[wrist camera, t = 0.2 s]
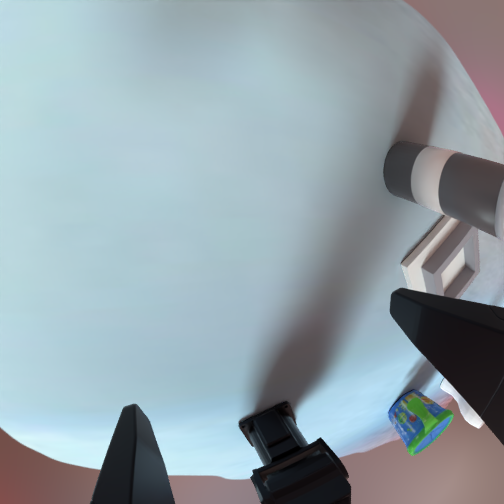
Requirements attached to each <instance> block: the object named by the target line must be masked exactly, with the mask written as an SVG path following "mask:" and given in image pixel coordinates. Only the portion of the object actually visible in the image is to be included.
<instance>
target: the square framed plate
mask: <svg viewBox="0 0 504 504" xmlns="http://www.w3.org/2000/svg"><path fill="white" fill-rule="evenodd" d="M401 266H402V270H403V273H404V276H405V279H406V283H407V286H408V289H411V290H416V291H421V292H426V293H431V294H436V295H441V296H446V297H451V298H456V299H459V298H460V297H461V296H462V294H463V293H464V292H465V291H466V289H467V288H468V287H469V285H470V284H471V283H472V282H473V280H474V279H475V278H476V276H477V275H478V273H479V272H480V258H479V240H478V229H477V228H475V227H473V226H471V225H468V224H466V223H464V222H461V221H459V220H457V219H454V218H452V217H449V216H446V215H445V216H444V217H443V218H442V220H441V221H440V222H439V223H438V224H437V225H436V227H435V228H434V229H433V230H432V231H431V232H430V233H429V234H428V235H427V237H426V238H425V239H424V240H423V241H422V242H421V243H420V244H419V245H418V246H417V247H416V249H415V250H414V251H413V252H412V253H411V254H410V255H409V256H408V257H407V258H406V259H405V260H404V261H403V262H402V263H401Z"/></svg>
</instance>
